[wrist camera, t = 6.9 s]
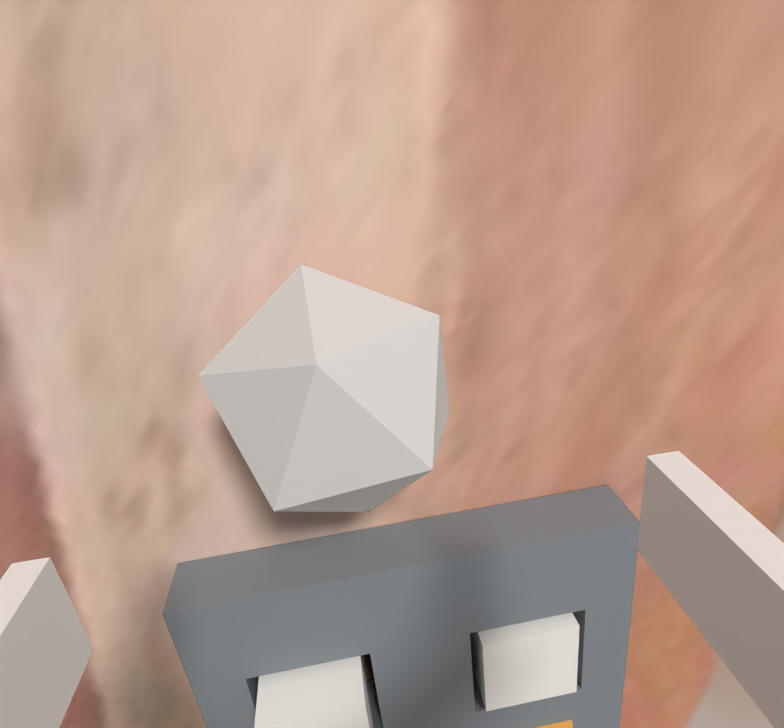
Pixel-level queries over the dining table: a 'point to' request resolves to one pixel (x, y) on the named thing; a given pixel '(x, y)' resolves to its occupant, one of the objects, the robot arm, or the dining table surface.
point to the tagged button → (526, 661)
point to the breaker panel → (417, 611)
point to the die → (333, 394)
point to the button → (315, 697)
